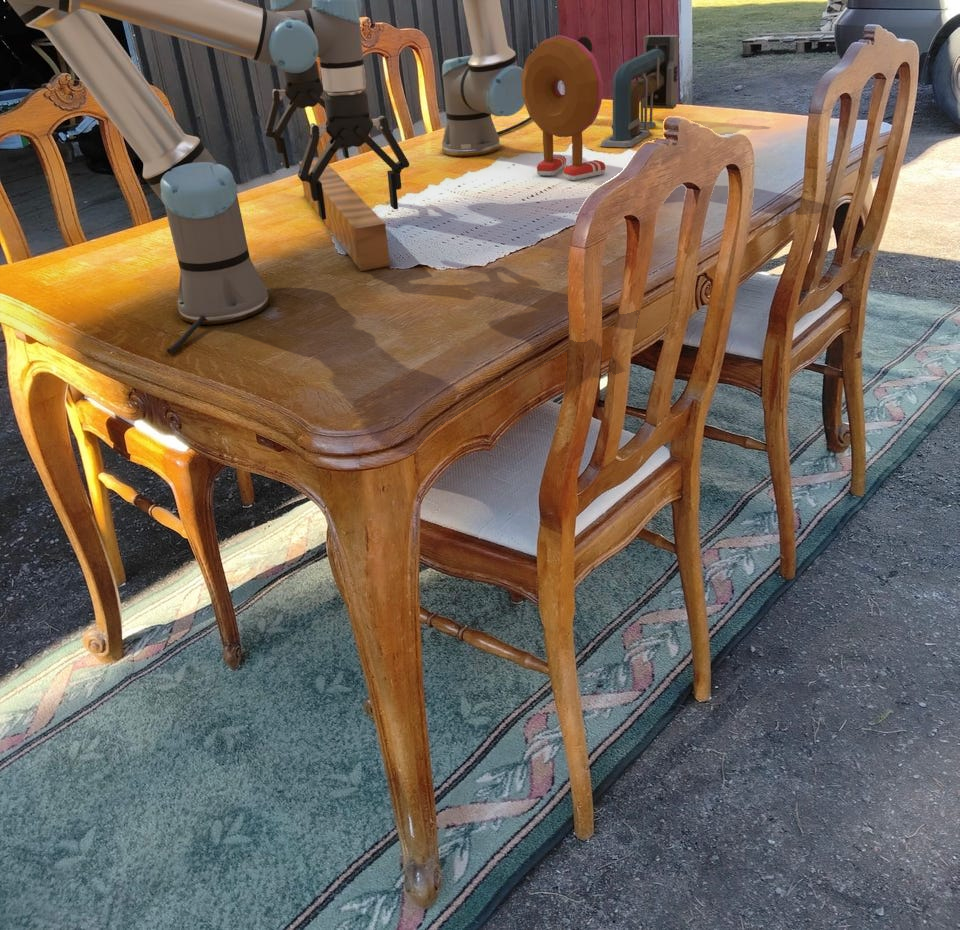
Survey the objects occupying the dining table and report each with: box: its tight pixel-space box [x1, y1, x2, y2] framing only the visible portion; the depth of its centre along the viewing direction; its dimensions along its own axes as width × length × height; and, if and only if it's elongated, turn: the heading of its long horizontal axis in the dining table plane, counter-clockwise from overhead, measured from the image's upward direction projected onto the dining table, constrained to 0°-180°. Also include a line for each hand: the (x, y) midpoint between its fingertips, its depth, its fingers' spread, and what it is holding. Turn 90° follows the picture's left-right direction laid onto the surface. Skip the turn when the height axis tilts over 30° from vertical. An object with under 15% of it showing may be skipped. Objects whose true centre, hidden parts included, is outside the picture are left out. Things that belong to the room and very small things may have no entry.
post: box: [298, 158, 391, 272], centre depth 201 cm, size 60×6×8 cm, turn 19°
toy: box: [521, 34, 606, 181], centre depth 218 cm, size 21×10×30 cm, turn 47°
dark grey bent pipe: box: [599, 34, 679, 148], centre depth 253 cm, size 35×9×21 cm, turn 151°
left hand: (359, 212), depth 179 cm, fingers open, 13 cm apart
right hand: (317, 162), depth 218 cm, fingers open, 13 cm apart
